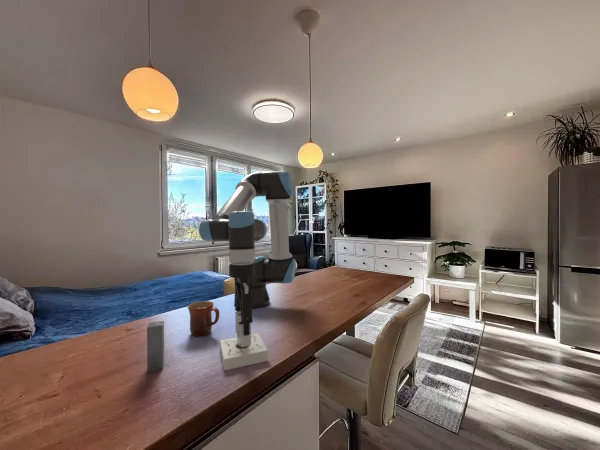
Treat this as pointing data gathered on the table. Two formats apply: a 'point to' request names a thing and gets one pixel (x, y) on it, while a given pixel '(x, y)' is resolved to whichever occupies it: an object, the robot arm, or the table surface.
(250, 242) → the robot arm
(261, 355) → the bore block
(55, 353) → the table surface
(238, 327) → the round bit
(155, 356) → the square bit
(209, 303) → the mug
